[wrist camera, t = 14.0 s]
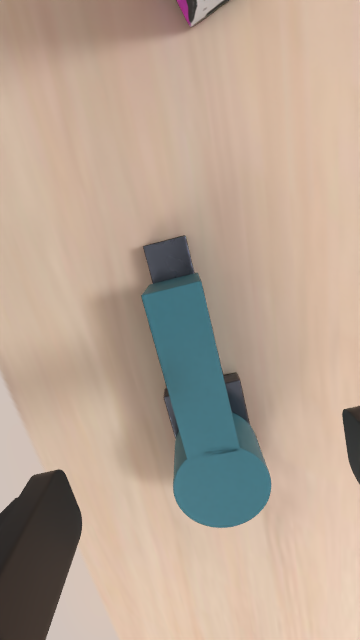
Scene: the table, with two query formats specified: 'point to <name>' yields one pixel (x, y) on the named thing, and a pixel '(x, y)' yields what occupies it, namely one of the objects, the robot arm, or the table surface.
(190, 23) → the candy bar box
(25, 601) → the robot arm
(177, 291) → the teal mallet
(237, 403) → the fork
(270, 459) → the table surface
